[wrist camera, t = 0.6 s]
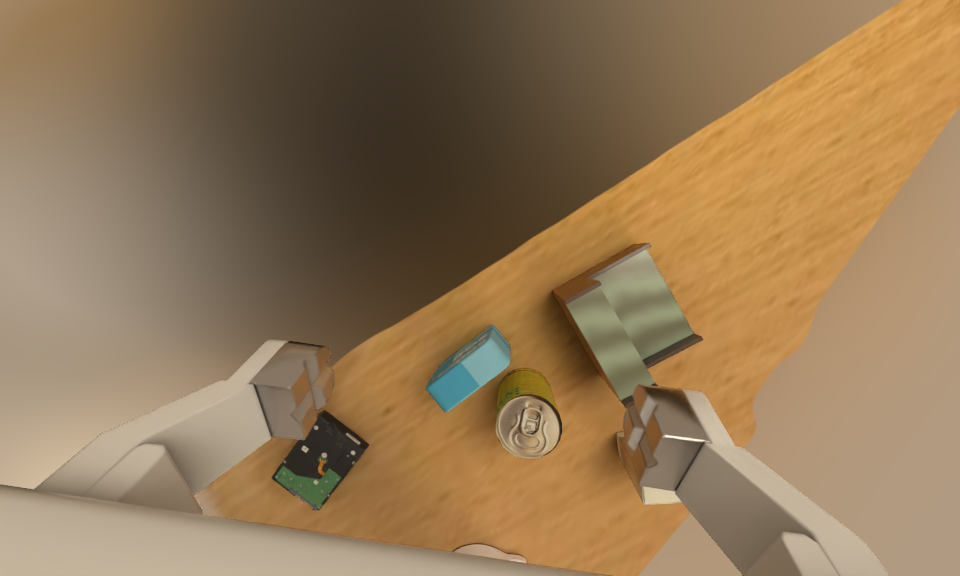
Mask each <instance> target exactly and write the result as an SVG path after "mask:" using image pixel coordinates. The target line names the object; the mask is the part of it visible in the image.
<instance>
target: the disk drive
mask: <svg viewBox="0 0 960 576" xmlns="http://www.w3.org/2000/svg"><path fill="white" fill-rule="evenodd" d="M317 418H318V419H317V421H316V422H315V424H314V426H313V427H312V429H311V430H310V432H309V434H308V435H307V437H306V439H305V440H299V441H298V442H297V443H296V445H295V446H294V448H293V449H292V450H291V452H290V453H289V454H288V456H287V457H286V458H285V460H284V461H283V463H282V464H281V465H280V466H279V468H278V469H277V471H276V472H275V473H274V475H273V476H272V479H273V480H275V481H276V482H277V483H279V484H280V485H281V486H282V487H283V488H285V489H286V490H287V491H289V493H291V494H292V495H293V496H295V495H297V497H298V498H300V499H301V500H302V499H303V500H302V501H303V502H305V503H306V504H307V505H309V506H310V507H313V509H312V510H314V511H316V509H317V510H320V508H321V507H322V506H323V505H324V504H325V503H326V501H327V500H328V498H329V497H330V496H331V494H332V493H333V492H334V490H335V489H336V488H337V486H338V485H339V484H340V482H341V481H342V480H343V479H344V477H345V476H346V475H347V473H348V472H349V471H350V470H351V468H352V467H353V466H354V464H355V463H356V462H357V461H358V460H359V458H360V457H361V455H362V454H363V453H364V451H365V450H366V448H367V447H368V446H369V444H368V443H366V442H365V441H364V440H363V439H362V438H360V437H359V436H358V435H356V434H355V433H354V432H352V431H351V430H350V429H349V428H347V427H346V426H345V425H343V424H342V423H341V422H339V421H338V420H337V419H336V418H334V417H333V416H332V415H330V414H328V413H327V412H326V411H325V410H323V411H322V412H321V413H320V414H319V415H317Z"/></svg>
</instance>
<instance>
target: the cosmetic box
mask: <svg viewBox="0 0 960 576" xmlns="http://www.w3.org/2000/svg"><path fill="white" fill-rule="evenodd" d="M617 445H618V453H619V457H620V458H621V460H622V462H623V465H624V467H625V468H626V470H627V472H628V474H629V476H630V478H631V480H632V482H633V484H634V486H635V488H636V490H637V492H638V494H639V496H640V498H641V500H642V502H643V504H644V505H652V504H670V503H681V502H682V501H681V500H680V499H679V498H678V497H677V495H676V494H675V491H669V490H663V489H656V488H650V487H644V486H639V484H638V481H637V478H636V474H635V471H634V468H633V464H632V461H631V460H632V458H633V455H634V453H635V452H634V451H633V450H632V449H631V448H630V447H629V446H628V445H627V443H626V440H625V436H624V432H618V433H617Z"/></svg>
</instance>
